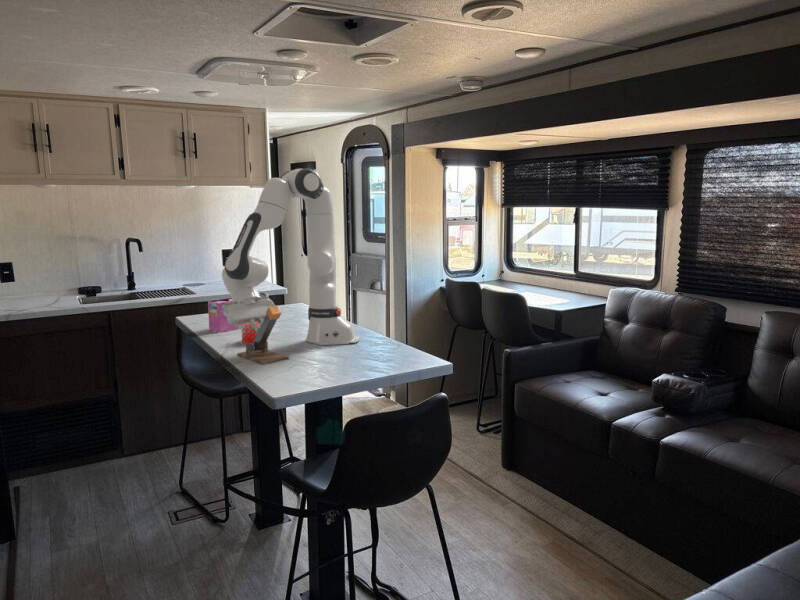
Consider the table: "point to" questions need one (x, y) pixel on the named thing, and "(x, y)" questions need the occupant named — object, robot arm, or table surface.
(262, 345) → the lever
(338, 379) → the table surface
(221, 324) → the gum box
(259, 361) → the lever base
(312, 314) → the robot arm
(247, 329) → the puzzle cube
